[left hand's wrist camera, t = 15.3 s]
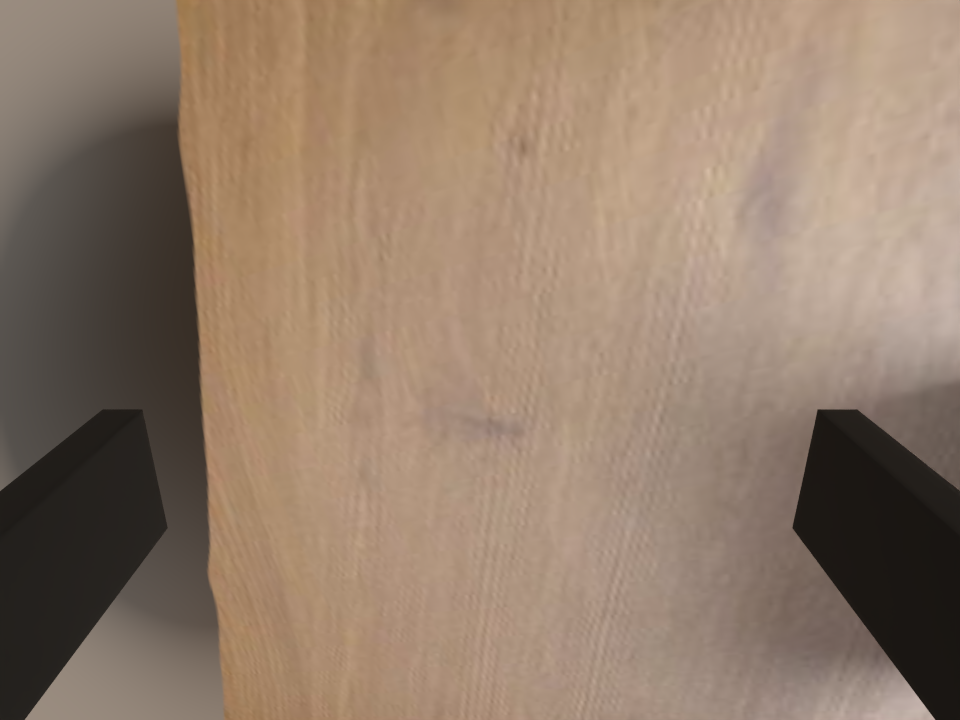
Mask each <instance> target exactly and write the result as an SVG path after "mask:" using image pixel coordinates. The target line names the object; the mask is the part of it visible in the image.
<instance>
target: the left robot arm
mask: <svg viewBox="0 0 960 720" xmlns="http://www.w3.org/2000/svg"><path fill="white" fill-rule="evenodd" d="M166 529H167V523H166V519H165V514H164V509H163V504H162V500H161V495H160V490H159V486H158V481H157V476H156V472H155V467H154V462H153V458H152V453H151V448H150V444H149V439H148V434H147V430H146V425H145V420H144V416H143V411H142V410H102V411H100V412H99V413H98V414H97V415H95V416H94V417H93V418H92V419H90V420H89V421H88V422H87V423H85V424H84V425H83V426H82V427H80V428H79V429H78V430H77V431H75V432H74V433H73V434H72V435H70V436H69V437H68V438H66V439H65V440H64V441H63V442H61V443H60V444H59V445H58V446H56V447H55V448H54V449H53V450H51V451H50V452H49V453H48V454H46V455H45V456H44V457H43V458H41V459H40V460H39V461H38V462H36V463H35V464H34V465H33V466H31V467H30V468H29V469H28V470H26V471H25V472H24V473H23V474H21V475H20V476H19V477H18V478H16V479H15V480H14V481H12V482H11V483H10V484H9V485H8V486H6V487H5V488H4V489H2V490H1V491H0V720H25V718H26V717H27V716H28V714H29V713H30V712H31V710H32V709H33V708H34V706H35V705H36V704H37V702H38V701H39V700H40V698H41V697H42V696H43V694H44V693H45V692H46V690H47V689H48V688H49V686H50V685H51V684H52V682H53V681H54V680H55V678H56V677H57V676H58V674H59V673H60V672H61V670H62V669H63V667H64V666H65V665H66V664H67V662H68V661H69V660H70V658H71V657H72V655H73V654H74V653H75V651H76V650H77V649H78V647H79V646H80V645H81V643H82V642H83V641H84V639H85V638H86V637H87V635H88V634H89V633H90V631H91V630H92V629H93V627H94V626H95V625H96V623H97V622H98V621H99V619H100V618H101V617H102V615H103V614H104V613H105V611H106V610H107V609H108V607H109V606H110V605H111V603H112V602H113V600H114V599H115V598H116V596H117V595H118V594H119V592H120V591H121V590H122V588H123V587H124V586H125V584H126V583H127V582H128V580H129V579H130V578H131V576H132V575H133V574H134V572H135V571H136V570H137V568H138V567H139V566H140V564H141V563H142V562H143V560H144V559H145V558H146V556H147V555H148V554H149V552H150V551H151V550H152V548H153V547H154V546H155V544H156V543H157V541H158V540H159V539H160V538H161V536H162V535H163V533H164V532H165V531H166ZM793 529H794V531H795V532H796V533H797V535H798V536H799V538H800V539H801V540H802V542H803V543H804V544H805V546H806V547H807V548H808V550H809V551H810V552H811V554H812V555H813V556H814V558H815V559H816V560H817V562H818V563H819V564H820V566H821V567H822V568H823V570H824V571H825V572H826V574H827V575H828V576H829V578H830V579H831V580H832V582H833V583H834V584H835V586H836V587H837V588H838V590H839V591H840V592H841V594H842V595H843V596H844V598H845V599H846V601H847V602H848V603H849V605H850V606H851V607H852V609H853V610H854V611H855V613H856V614H857V615H858V617H859V618H860V619H861V621H862V622H863V623H864V625H865V626H866V627H867V629H868V630H869V631H870V633H871V634H872V635H873V637H874V638H875V639H876V641H877V642H878V643H879V645H880V646H881V647H882V649H883V650H884V651H885V653H886V654H887V655H888V657H889V658H890V660H891V661H892V662H893V664H894V665H895V666H896V668H897V669H898V670H899V672H900V673H901V674H902V676H903V677H904V678H905V680H906V681H907V682H908V684H909V685H910V686H911V688H912V689H913V690H914V692H915V693H916V694H917V696H918V697H919V698H920V700H921V701H922V702H923V704H924V705H925V706H926V708H927V709H928V710H929V712H930V713H931V714H932V716H933V717H934V718H935V720H960V491H959V490H958V489H956V488H955V487H954V486H953V485H951V484H950V483H949V482H948V481H946V480H945V479H944V478H942V477H941V476H940V475H939V474H937V473H936V472H935V471H934V470H932V469H931V468H930V467H929V466H927V465H926V464H925V463H924V462H922V461H921V460H920V459H919V458H917V457H916V456H915V455H914V454H912V453H911V452H910V451H909V450H907V449H906V448H905V447H904V446H902V445H901V444H900V443H899V442H897V441H896V440H895V439H894V438H892V437H891V436H890V435H888V434H887V433H886V432H885V431H883V430H882V429H881V428H880V427H878V426H877V425H876V424H875V423H873V422H872V421H871V420H870V419H868V418H867V417H866V416H865V415H863V414H862V413H861V412H860V411H858V410H818V411H817V416H816V420H815V425H814V430H813V434H812V439H811V444H810V448H809V453H808V458H807V462H806V467H805V472H804V476H803V481H802V486H801V490H800V495H799V500H798V504H797V509H796V514H795V518H794V523H793Z"/></svg>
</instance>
